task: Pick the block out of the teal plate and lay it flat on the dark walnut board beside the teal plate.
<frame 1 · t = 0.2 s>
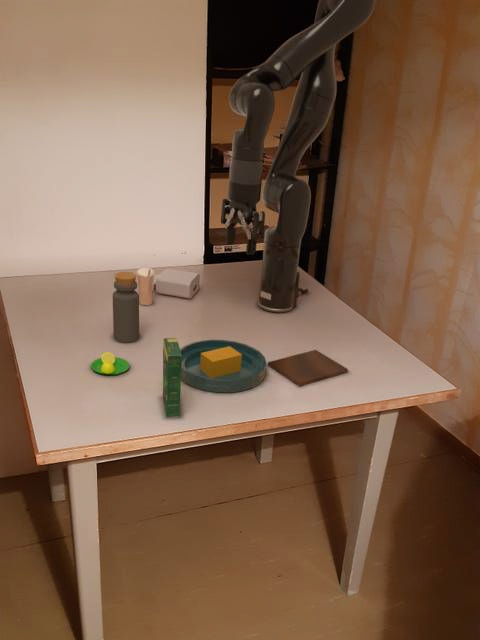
hand: (240, 249, 161), 17 cm above the table, tool pointing down, fingers open, 8 cm apart
charger: (168, 290, 182), on the table
block: (220, 362, 143), in the teal plate
coffee box: (170, 408, 130), on the table
board: (307, 368, 148), on the table
bottle: (126, 338, 155), on the table
teal plate: (220, 371, 144), on the table
milkshake: (146, 304, 173), on the table
lemons on green plate: (110, 368, 142), on the table
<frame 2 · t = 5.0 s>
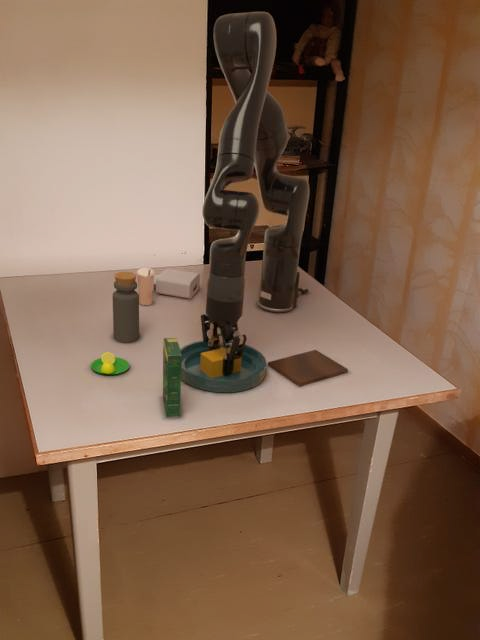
hand: (220, 368, 144), 1 cm above the table, tool pointing down, fingers closed on block, 4 cm apart
block: (220, 362, 143), in the teal plate, touching gripper
everything else where it was.
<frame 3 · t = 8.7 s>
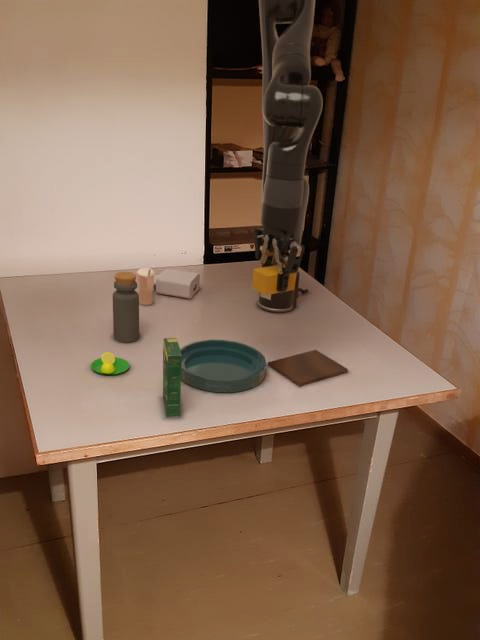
hand: (273, 286, 136), 19 cm above the table, tool pointing down, fingers closed on block, 4 cm apart
block: (274, 279, 135), point 20 cm above the table, touching gripper
everything else where it was.
when the fingers open (1 cm above the table, at t = 12.8 s): block stays where it is, resting on board.
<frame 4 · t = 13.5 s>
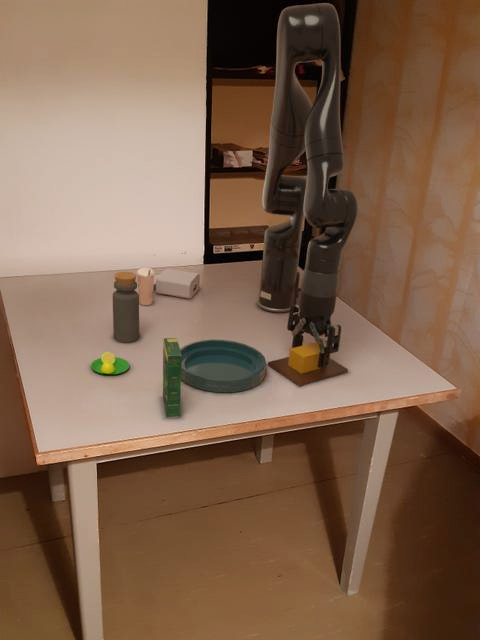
hand: (309, 359, 147), 2 cm above the table, tool pointing down, fingers open, 8 cm apart
block: (308, 357, 147), on the board, point 3 cm above the table
everything else where it was.
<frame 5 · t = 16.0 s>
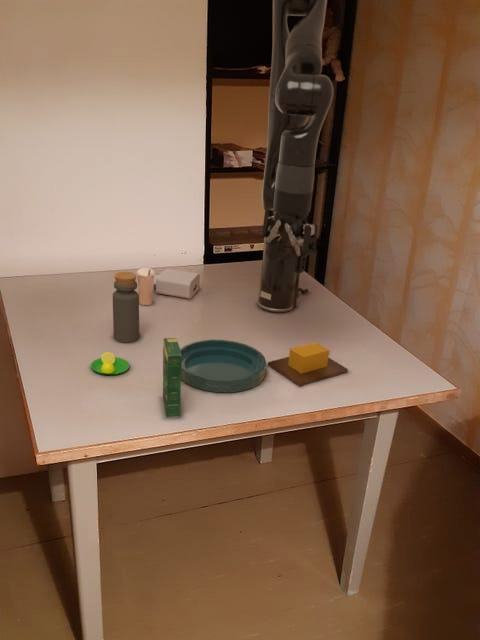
hand: (285, 266, 141), 21 cm above the table, tool pointing down, fingers open, 8 cm apart
nothing on the table moved.
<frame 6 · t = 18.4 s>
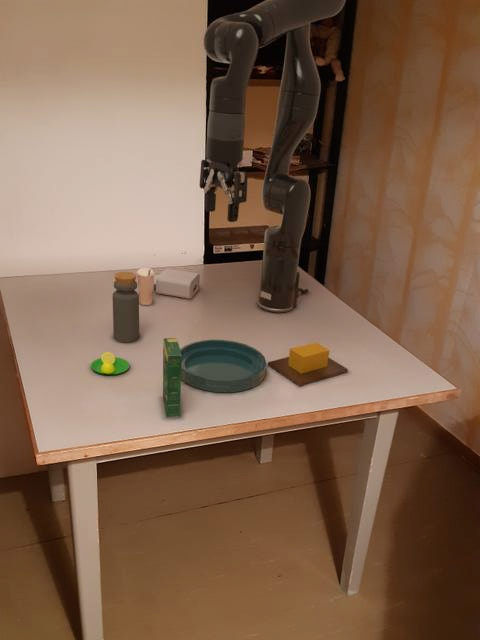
hand: (220, 216, 144), 28 cm above the table, tool pointing down, fingers open, 8 cm apart
nothing on the table moved.
at the end: block inside the target area on the board (0.2 cm from its centre), point 2.8 cm above the board's base; block tilted 0°; the gripper is holding nothing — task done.
